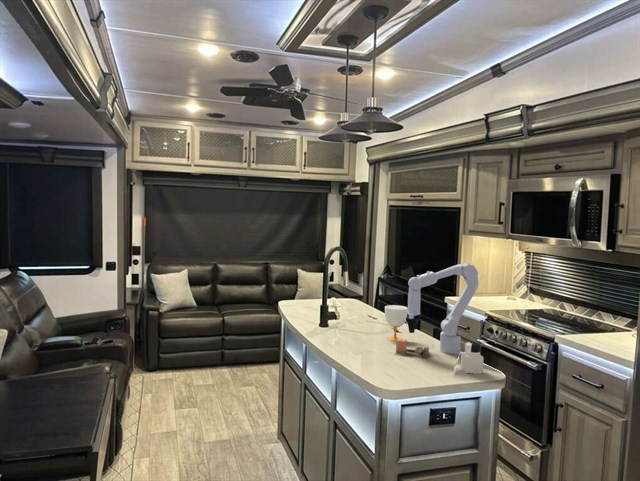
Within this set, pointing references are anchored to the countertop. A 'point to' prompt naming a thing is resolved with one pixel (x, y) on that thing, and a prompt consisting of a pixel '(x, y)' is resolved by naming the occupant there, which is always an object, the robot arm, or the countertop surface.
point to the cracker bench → (412, 353)
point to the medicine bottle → (472, 359)
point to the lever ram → (401, 345)
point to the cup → (395, 317)
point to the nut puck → (419, 350)
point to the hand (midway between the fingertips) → (413, 330)
